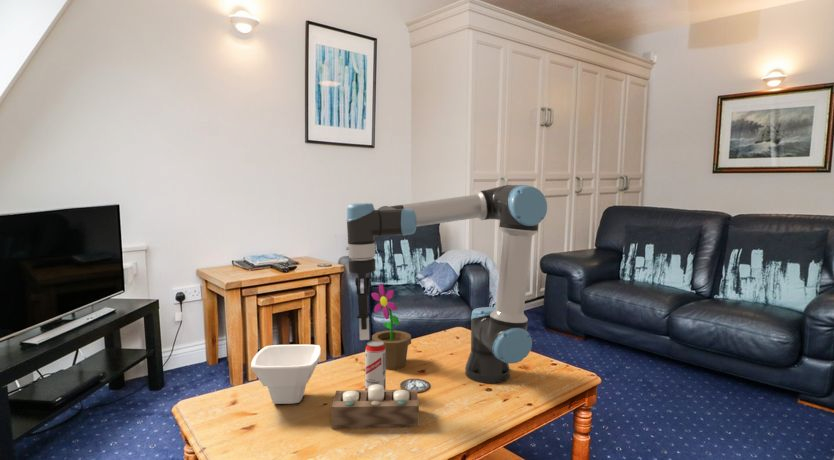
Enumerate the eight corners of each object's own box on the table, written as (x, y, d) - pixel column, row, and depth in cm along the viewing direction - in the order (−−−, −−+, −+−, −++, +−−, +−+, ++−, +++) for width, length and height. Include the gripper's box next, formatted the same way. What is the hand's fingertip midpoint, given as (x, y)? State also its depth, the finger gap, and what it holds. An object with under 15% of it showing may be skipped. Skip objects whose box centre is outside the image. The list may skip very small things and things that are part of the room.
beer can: (382, 398, 145) (382, 347, 143) (362, 396, 146) (362, 345, 144) (387, 389, 151) (388, 340, 149) (368, 388, 152) (368, 339, 150)
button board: (416, 409, 138) (416, 388, 137) (418, 427, 128) (418, 404, 127) (336, 410, 137) (336, 389, 136) (331, 428, 127) (331, 406, 126)
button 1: (359, 407, 135) (359, 390, 135) (358, 414, 131) (358, 397, 130) (343, 407, 135) (343, 390, 134) (342, 415, 130) (342, 397, 130)
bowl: (316, 414, 135) (316, 366, 133) (246, 416, 133) (245, 367, 132) (325, 386, 153) (324, 343, 152) (263, 387, 152) (262, 344, 150)
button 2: (408, 406, 136) (409, 389, 135) (409, 414, 131) (409, 396, 131) (393, 406, 136) (393, 389, 135) (393, 414, 131) (393, 396, 131)
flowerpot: (363, 364, 171) (362, 282, 168) (390, 354, 182) (391, 276, 179) (392, 375, 162) (392, 288, 159) (419, 363, 173) (420, 281, 170)
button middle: (384, 401, 135) (384, 384, 135) (383, 408, 131) (384, 390, 130) (368, 401, 135) (368, 384, 135) (367, 408, 131) (367, 391, 130)
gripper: (349, 254, 141) (352, 332, 144) (346, 262, 128) (350, 347, 131) (375, 254, 142) (377, 331, 144) (375, 261, 129) (377, 346, 131)
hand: (364, 339), depth 137 cm, fingers closed
